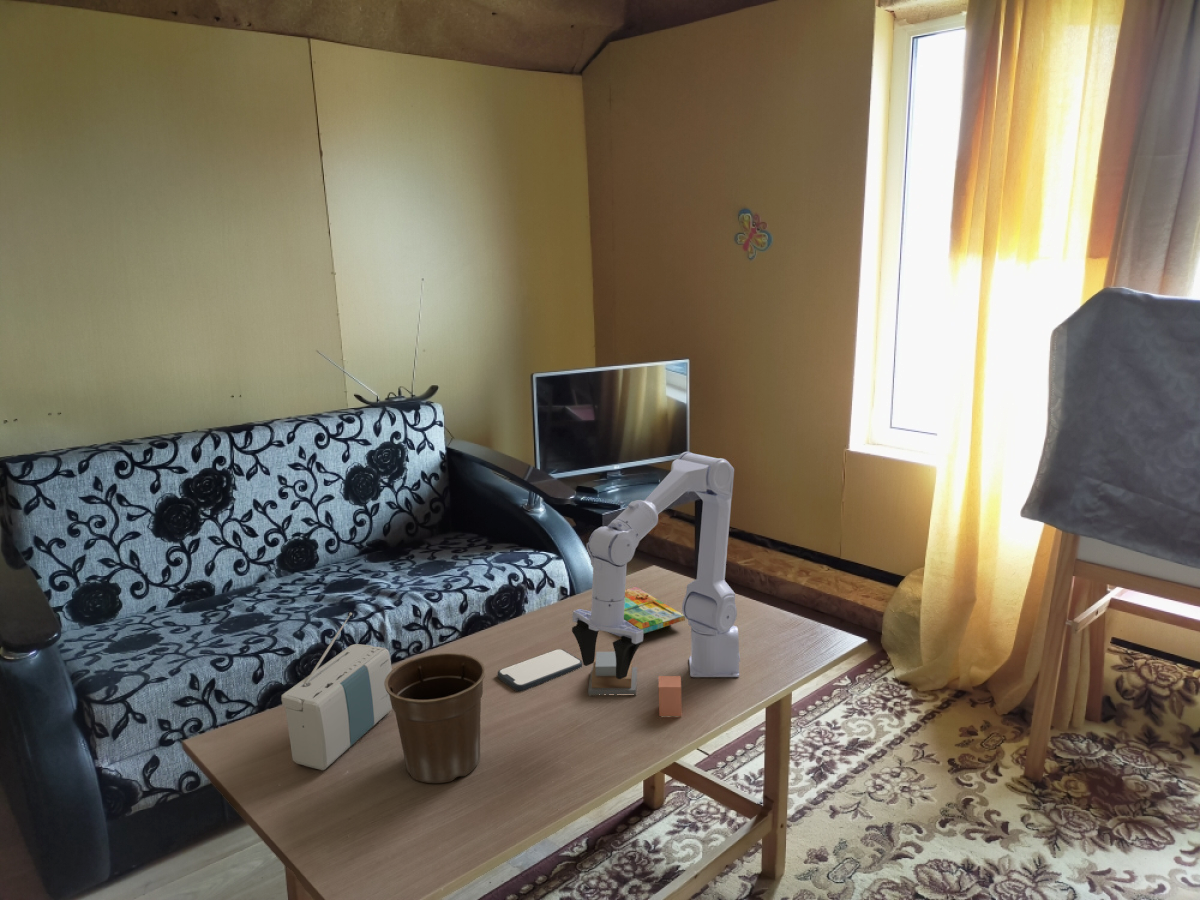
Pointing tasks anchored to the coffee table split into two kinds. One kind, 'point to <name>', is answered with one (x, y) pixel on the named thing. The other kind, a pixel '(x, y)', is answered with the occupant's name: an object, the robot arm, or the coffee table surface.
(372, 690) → the stereo radio cassette player
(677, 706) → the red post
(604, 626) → the robot arm
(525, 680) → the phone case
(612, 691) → the tower base slab
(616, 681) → the tower middle slab
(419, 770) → the plant pot
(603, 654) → the tower top slab
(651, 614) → the puzzle game
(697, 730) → the coffee table surface
